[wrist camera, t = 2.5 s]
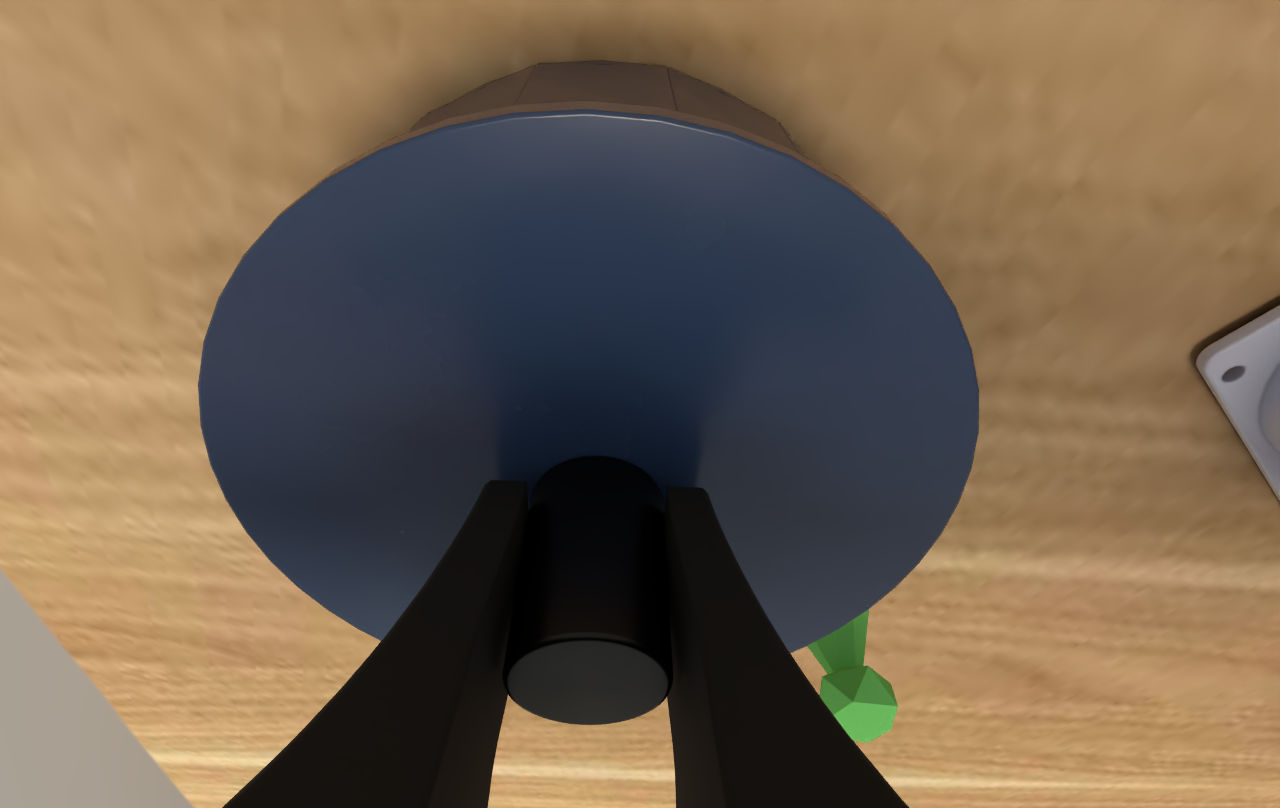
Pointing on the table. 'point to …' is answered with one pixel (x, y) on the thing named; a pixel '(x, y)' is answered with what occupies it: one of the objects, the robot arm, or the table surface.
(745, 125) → the pan
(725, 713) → the robot arm
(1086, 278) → the table surface
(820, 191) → the pan lid
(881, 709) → the game piece
